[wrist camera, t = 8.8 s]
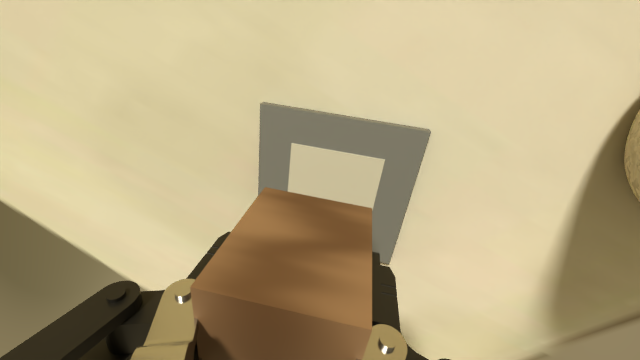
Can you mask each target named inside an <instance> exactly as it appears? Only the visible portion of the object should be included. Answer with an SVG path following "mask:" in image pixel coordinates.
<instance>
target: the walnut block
mask: <svg viewBox="0 0 640 360" xmlns="http://www.w3.org/2000/svg"><path fill="white" fill-rule="evenodd" d="M190 291H191V299H192V308H193V316H194V318H196V319H198V326H199V330H198V335H197V339H196V340H197V349H198V357H200V358H202V360H356V358H357V359H361V360H362V359H363V356H364V353H365V350H366V347H367V344H368V341H369V338H370V335H371V332H372V208H369V207H364V206H358V205H353V204H348V203H343V202H338V201H333V200H328V199H323V198H318V197H313V196H308V195H303V194H298V193H293V192H287V191H282V190H277V189H272V188H267V187H265V188H264V189H263V190H262V192H261V193H260V194H259V196H258V197H257V198H256V200H255V201H254V202H253V204H252V205H251V206H250V208H249V209H248V210H247V212H246V213H245V214H244V216H243V217H242V218H241V220H240V221H239V222H238V224H237V225H236V226H235V228H234V229H233V230H232V232H231V233H230V234H229V236H228V237H227V238H226V240H225V241H224V242H223V244H222V245H221V246H220V248H219V249H218V250H217V252H216V253H215V254H214V256H213V257H212V258H211V260H210V261H209V262H208V264H207V265H206V266H205V268H204V269H203V270H202V272H201V273H200V274H199V276H198V277H197V278H196V280H195V281H194V282H193V284H192V285H191V286H190Z"/></svg>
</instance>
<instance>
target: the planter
mask: <svg viewBox="0 0 640 360" xmlns="http://www.w3.org/2000/svg"><path fill="white" fill-rule="evenodd" d="M624 164H625V172H626V176H627V179H628V182H629V184H630V187H631V189H632V191H633V193H634V195H635V196H636V198H637V199H638V201H639V202H640V110H639V111H638V113H637V115H636V117H635V119H634V121H633V123H632V126H631V128H630V131H629V134H628V137H627V142H626V146H625V156H624Z"/></svg>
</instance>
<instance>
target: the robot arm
mask: <svg viewBox="0 0 640 360" xmlns="http://www.w3.org/2000/svg"><path fill="white" fill-rule="evenodd" d="M230 233H231V232H227V233H226V234H224V235H222V236H221V237H219V238H218V239H217V241H216V242H215V243H214V244H213V246H212V247H211V248H210V249H209V251H208V252H207V254H205V256H204V257H203V258H202V260H201V261H200V262H199V263H198V265H197V266H196V267H195V268H194V270H193V271H192V272H191V273H190V275H189V276H188V277H187V278H186V279H182V280H179V281H176V282H174V283H173V284H171V285H170V286H168V287H167V288H166V290H161V291H143V292H140V288H139V286H138V284H136V283H135V282H132V281H120V282H116V283H113V284H110V285H108V286H106V287H105V288H103V289H102V290H100V291H99V292H97V293H96V294H94V295H93V296H91V297H90V298H88V299H87V300H85V301H84V302H83V303H81V304H79V305H78V306H76V307H75V308H73V309H72V310H71V311H69V312H67V313H66V314H65V315H63V316H62V317H60V318H59V319H57V320H56V321H54V322H53V323H51V324H50V325H48V326H47V327H45V328H44V329H42V330H41V331H39V332H38V333H36V334H35V335H33V336H32V337H31V338H29V339H28V340H26V341H24V342H23V343H22V344H20V345H19V346H17V347H16V348H14V349H13V350H11V351H10V352H8V353H7V354H5V355H4V356H2V357H1V358H0V360H202V358H200V357H198V349H197V340H196V339H197V335H198V330H199V326H198V319H196V318H194V316H193V308H192V299H191V291H190V286H191V285H192V284H193V282H194V281H195V280H196V278H197V277H198V276H199V274H200V273H201V272H202V270H203V269H204V268H205V266H206V265H207V264H208V262H209V261H210V260H211V258H212V257H213V256H214V254H215V253H216V252H217V250H218V249H219V248H220V246H221V245H222V244H223V242H224V241H225V240H226V238H227V237H228V236H229V234H230ZM356 360H361V359H357V358H356ZM362 360H428V359H426V358H425V357H423V356H421V355H419V354H418V353H416V352H415V351H414V350H412V349H411V348H410V347H409V346H408V344H407V343H406V341H405V339H404V337H403V336H402V334H401V331H400V323H399V312H398V302H397V292H396V281H395V276H394V274H393V272H392V271H391V269H390V267H386V266H382V265H380V254H379V253H377V252H372V332H371V335H370V338H369V341H368V344H367V347H366V350H365V353H364V356H363V359H362ZM439 360H450V359H439Z"/></svg>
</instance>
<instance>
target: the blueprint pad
mask: <svg viewBox="0 0 640 360" xmlns="http://www.w3.org/2000/svg"><path fill="white" fill-rule="evenodd" d="M430 133H431V131H430V130H429V129H423V128H417V127H411V126H405V125H399V124H393V123H387V122H381V121H375V120H368V119H362V118H356V117H350V116H344V115H338V114H332V113H326V112H320V111H314V110H308V109H302V108H296V107H290V106H284V105H277V104H271V103H265V102H263V103H261V104H260V143H259V187H258V196H259V194H260V193H261V192H262V190H263V189H264V188H265V187H267V188H272V189H277V190H282V191H287V192H293V193H298V194H303V195H308V196H313V197H318V198H323V199H328V200H333V201H338V202H343V203H348V204H353V205H358V206H364V207H369V208H372V252H377V253H379V254H380V262H381V263H386V264H389V263H390V260H391V257H392V254H393V250H394V247H395V244H396V241H397V238H398V235H399V231H400V228H401V225H402V222H403V219H404V216H405V212H406V209H407V206H408V203H409V200H410V197H411V193H412V190H413V187H414V184H415V181H416V178H417V174H418V171H419V168H420V165H421V162H422V159H423V155H424V152H425V149H426V146H427V143H428V140H429V136H430Z"/></svg>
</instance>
